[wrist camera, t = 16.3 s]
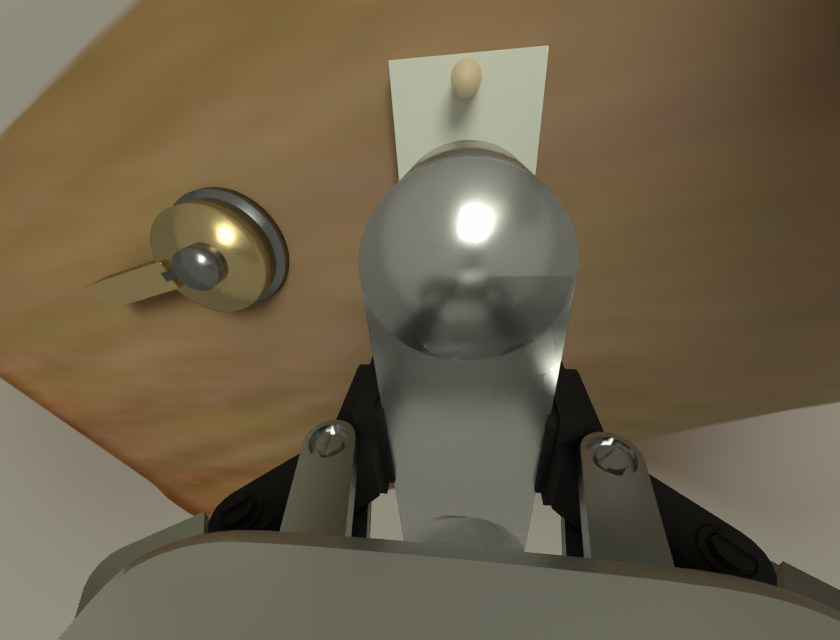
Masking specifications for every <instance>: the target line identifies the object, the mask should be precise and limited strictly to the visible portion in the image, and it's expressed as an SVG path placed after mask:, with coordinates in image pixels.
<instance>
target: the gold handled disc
mask: <svg viewBox="0 0 840 640" xmlns="http://www.w3.org/2000/svg"><path fill="white" fill-rule="evenodd" d="M150 243H151V249H152V252H153V256H154V258H155V260H153V261H150V262H147V263H144V264H141V265H138V266H135V267H132V268H130V269H127V270H124V271H121V272H118V273H115V274H112V275H109V276H107V277H105V278H102V279H100V280H98V281H96V282H94V283H92V284H90V285H87V286H86V287H87V288H88V289H89V290H90V292H91V293H92V294H93V295H94V296H95V297H96V298H97V299H98V301H99V302H100V303H101V304H102V305H103V306H104V307H105V309H106V310H109V309H113V308H116V307H119V306H123V305H126V304H129V303H133V302H136V301H139V300H142V299H146V298H149V297H152V296H156V295H159V294H162V293H166V292H169V291H172V290H175V289H177V290H178V291H179V292H180V293H181V294H182V295H184V296H185V297H187V298H188V299H190V300H191V301H193V302H195V303H196V304H198V305H200V306H203V307H205V308H208V309H212V310H215V311H221V312H234V311H239V310H242V309H245V308H247V307H248V306H250V305H251V304H252V303H254V302H255V301H256V300H257V299H258V298H259V297H260V296H261V295H262V294H264V293H265V292H266V291H267V290H268V289H269V287H270V286H271V284H272V283H273V280H274V278H275V274H276V258H275V254H274V250H273V247H272V245H271V243H270V241H269V239H268V237H267V235H266V234H265V232H264V231H263V230H262V228H261V227H260V226H259V225H258V223H257V222H256V221H255V220H254V219H253V218H252V217H250V216H249V215H248V214H247V213H245V212H244V211H243V210H241V209H240V208H238V207H236V206H235V205H233V204H230V203H228V202H226V201H222V200H219V199H214V198H197V199H194V200H190V201H187V202H184V203H181V204H178V205H175V206H172V207H170V208H168V209H166V210H164V211H163V212H161V213H160V214H159V215H158V216H157V218H156V219H155V221H154V223H153V225H152V228H151V235H150Z"/></svg>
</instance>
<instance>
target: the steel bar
mask: <svg viewBox="0 0 840 640" xmlns="http://www.w3.org/2000/svg"><path fill="white" fill-rule="evenodd" d="M578 266H579V247H578V242H577V237H576V232H575V229H574V227H573V224H572V221H571V219H570V217H569V215H568V213H567V211H566V209H565V208H564V206H563V205H562V203H561V202H560V201H559V199H558V198H557V197H556V195H555V194H554V193H553V192H552V191H551V190H550V189H549V188H548V187H547V186H545V185H544V184H543V183H542V182H541V181H540V180H539V179H538V178H537V177H536V176H535V175H534V174H533V173H532V172H531V171H529V170H528V169H527V168H526V167H525V166H524V165H523V164H522V163H521V162H520V161H519V160H518V159H517V158H516V157H515V156H513V155H512V154H511V153H509V152H508V151H507V150H505V149H503V148H501V147H499V146H497V145H495V144H492V143H489V142H486V141H480V140H459V141H453V142H450V143H446V144H444V145H441V146H439V147H437V148H435V149H433V150H432V151H430V152H428V153H427V154H426V155H424V156H423V157H422V158H421V159H420V160H418V162H417V163H416V164H415V165H414V166H413V167H412V168H411V169H410V170H409V171H408V172H407V173H406V174H405V175H404V176H403V178H402V179H401V180H400V181H399V182H398V183H397V184H396V185H395V186H394V187H393V188H392V189H391V190H390V192H389V193H388V194H387V195H386V196H385V197H384V198H383V199H382V200H381V201H380V203H379V204H378V206H377V207H376V209H375V210H374V212H373V213H372V215H371V217H370V219H369V221H368V223H367V225H366V228H365V231H364V234H363V237H362V240H361V246H360V251H359V272H360V280H361V286H362V292H363V298H364V304H365V310H366V316H367V322H368V328H369V334H370V340H371V346H372V352H373V358H374V364H375V370H376V376H377V382H378V388H379V394H380V400H381V406H382V408H384V412H385V418H386V424H387V430H388V436H389V443H390V449H391V455H392V461H393V467H394V473H395V480H396V481H395V483H394V484H395V490H396V496H397V502H398V508H399V514H400V520H401V526H402V532H403V538H404V541H408V542H419V543H430V544H441V545H453V546H464V547H475V548H486V549H497V550H508V551H519V552H524V550H525V545H526V540H527V535H528V529H529V524H530V519H531V513H532V508H533V503H534V498H535V493H536V492H535V491H534V488H535V482H536V477H537V472H538V466H539V461H540V456H541V450H542V445H543V440H544V434H545V429H546V424H547V418H548V415H551V410H552V405H553V400H554V394H555V389H556V384H557V379H558V374H559V368H560V363H561V358H562V353H563V348H564V342H565V337H566V332H567V327H568V322H569V316H570V311H571V306H572V301H573V296H574V290H575V285H576V280H577V274H578Z"/></svg>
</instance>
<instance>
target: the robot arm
mask: <svg viewBox="0 0 840 640" xmlns="http://www.w3.org/2000/svg"><path fill="white" fill-rule="evenodd" d="M395 481H396V480H395V473H394V467H393V461H392V455H391V449H390V443H389V436H388V430H387V424H386V418H385V412H384V408H382V406H381V400H380V394H379V388H378V382H377V376H376V370H375V364H374V358H373V357H372V360H371V363H370V365H365V364H361V365H359V367H358V369H357V371H356V374H355V376H354V378H353V381H352V383H351V386H350V388H349V391H348V393H347V395H346V398H345V400H344V403H343V405H342V407H341V410H340V412H339V415H338V417H337V419H336V420H330V421H326V422H323V423H321V424H319V425H317V426H316V427H314V428H313V429H312V430H310V432H309V433H308V434H307V435H306V437H305V439H304V441H303V444H302V448H301V452H300V454H298V455H297V456H295V457H293V458H291V459H290V460H288V461H286V462H285V463H283V464H281V465H280V466H278V467H276V468H274V469H273V470H271V471H269V472H268V473H266V474H264V475H262V476H261V477H259V478H257V479H256V480H254V481H252V482H251V483H249V484H247V485H245V486H244V487H242V488H240V489H239V490H237V491H235V492H234V493H232V494H231V495H229V496H228V497H227V498H225V499H224V500H223V501H222V502H221V503H220V504H219V505H218V506H217V507H216V509H215V510H214V512H213V513H211V514H209V515H206V513H205V512H203V513H201V514H198V515H196V516H194V517H191V518H189V519H187V520H184V521H182V522H180V523H178V524H175V525H173V526H171V527H168V528H166V529H164V530H161V531H159V532H157V533H154V534H152V535H150V536H148V537H145V538H143V539H141V540H138V541H136V542H134V543H131V544H129V545H127V546H125V547H123V548H121V549H119V550H117V551H115V552H114V553H112V554H110V555H109V556H108V557H107V558H106V559H105V560H103V561H102V562H101V563H100V564H99V565H98V566H97V567H96V569H95V570H94V571H93V572H92V574H91V575H90V576H89V578H88V580H87V582H86V584H85V587H84V589H83V592H82V596H81V599H80V603H79V606H78V609H77V612H76V616H75V619H74V621H73V622H72V623H71V624H70V625H69V626H68V628H67V629H66V630H65V631H64V633H63V634H62V635H61V636H60V637H59V639H58V640H840V590H838V589H836V588H834V587H833V586H831V585H829V584H827V583H825V582H822V581H821V580H819V579H817V578H815V577H813V576H811V575H809V574H807V573H805V572H803V571H801V570H799V569H797V568H795V567H793V566H791V565H789V564H787V563H785V562H782V563H781V564H780V565H778V564H776V563H774V562H772V561H770V560H769V559H768V557H767V556H766V554H765V553H764V552H763V551H762V550H761V549H760V548H759V547H758V546H757V545H756V544H755V543H754V542H753V541H752V540H751V539H750V538H748V537H747V536H745V535H744V534H743V533H741V532H740V531H738V530H737V529H735V528H734V527H732V526H730V525H729V524H727V523H726V522H724V521H723V520H721V519H719V518H718V517H716V516H715V515H713V514H712V513H710V512H708V511H707V510H705V509H704V508H702V507H700V506H699V505H697V504H695V503H694V502H692V501H691V500H689V499H688V498H686V497H685V496H683V495H681V494H679V493H678V492H676V491H675V490H673V489H672V488H670V487H669V486H667V485H666V484H664V483H662V482H661V481H659V480H658V479H656V478H654V477H653V476H651V475H650V474H649V473H648V469H647V466H646V462H645V460H644V458H643V455H642V453H641V452H640V451H639V450H638V449H637V448H636V446H634V445H633V444H632V443H631V442H629V441H628V440H626V439H624V438H622V437H620V436H618V435H616V434H612V433H608V432H604V431H603V429H602V426H601V424H600V422H599V419H598V417H597V415H596V412H595V410H594V408H593V405H592V403H591V401H590V398H589V396H588V394H587V391H586V389H585V387H584V385H583V382H582V380H581V378H580V375H579V373H578V371H577V370H575V369H565V368H564V366H563V363H562V360H561V363H560V368H559V374H558V379H557V384H556V389H555V394H554V400H553V405H552V410H551V415H548V418H547V424H546V429H545V434H544V440H543V445H542V450H541V456H540V461H539V466H538V472H537V477H536V482H535V488H534V491H535V492H536V493H541V495H542V501H543V505H551V507H552V509H553V510H555V511H556V512H557V513H558V514H559V515H560V516H561V533H562V556H561V555H550V554H539V553H529V552H519V551H508V550H497V549H486V548H475V547H464V546H453V545H441V544H430V543H419V542H408V541H395V540H384V539H372V538H370V525H371V501H373V500H374V499H376V498H377V497H378V496H379V495H380V493H386V494H387V492H388V487H389V483H395Z"/></svg>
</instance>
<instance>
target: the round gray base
mask: <svg viewBox="0 0 840 640" xmlns="http://www.w3.org/2000/svg"><path fill="white" fill-rule="evenodd" d="M197 198H214V199H219V200H222V201H226V202H228V203H230V204H233V205H235V206H236V207H238V208H240V209H241V210H243V211H244V212H245V213H247V214H248V215H249V216H250V217H252V218H253V219H254V220H255V221H256V222H257V223H258V225H259V226H260V227H261V228H262V230H263V231H264V232H265V234H266V235H267V237H268V239H269V241H270V243H271V245H272V247H273V250H274V254H275V258H276V274H275V278H274V280H273V283H272V284H271V286H270V287H269V289H268V290H267V291H266V292H265V293H264V294H262V295H261V296H260V297H259V298H258V299H257V300H256V301H255V302H259V301H262V300H264V299H266V298H268V297H270V296H271V295H272V294H273V293H274V292H275V291H277V290H278V289H279V287H280V286H281V285H282V284H283V282H284V281H285V279H286V276H287V273H288V269H289V254H288V249H287V245H286V242H285V239H284V237H283V235H282V233H281V231H280V229H279V228H278V226H277V224H276V223H275V222H274V220H273V219H272V218H271V216H270V215H269V214H268V213H267V212H266V211H265V210H264V209H263V208H262V207H261V206H259V205H258V204H257V203H255V202H254V201H253V200H251V199H250V198H248V197H246V196H244V195H243V194H240V193H238V192H236V191H233V190H230V189H226V188H220V187H207V188H202V189H199V190H195V191H192V192H189V193H187V194H185V195H183V196H182V197H181V198H180V199H178V200H177V202H176V203H175V204H174V205H173V206H175V205H178V204H181V203H184V202H187V201H190V200H194V199H197Z"/></svg>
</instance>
